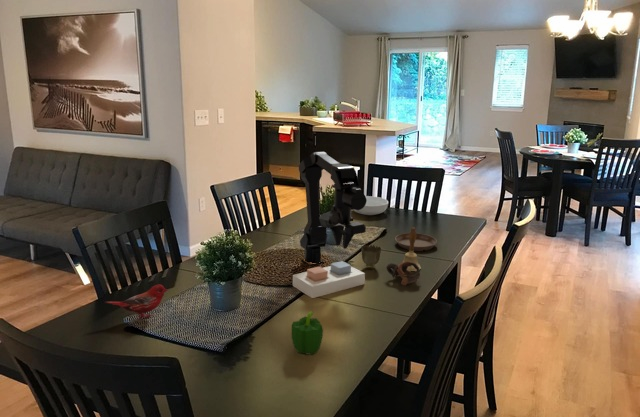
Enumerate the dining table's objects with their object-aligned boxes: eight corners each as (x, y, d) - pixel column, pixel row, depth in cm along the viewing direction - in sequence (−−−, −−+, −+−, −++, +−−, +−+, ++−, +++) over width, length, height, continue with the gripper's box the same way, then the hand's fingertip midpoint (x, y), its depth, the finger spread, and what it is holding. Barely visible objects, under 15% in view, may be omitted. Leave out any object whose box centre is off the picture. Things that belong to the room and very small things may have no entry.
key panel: (292, 285, 175) (292, 274, 174) (343, 273, 188) (343, 262, 187) (312, 298, 166) (312, 286, 165) (364, 284, 178) (364, 273, 177)
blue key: (330, 271, 179) (330, 263, 178) (342, 268, 182) (342, 261, 181) (339, 276, 175) (339, 268, 174) (350, 273, 178) (351, 265, 177)
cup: (379, 272, 189) (380, 251, 187) (359, 270, 191) (360, 250, 189) (380, 265, 196) (381, 245, 194) (361, 263, 198) (362, 243, 196)
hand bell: (423, 266, 196) (426, 226, 192) (417, 273, 189) (420, 232, 185) (402, 262, 200) (405, 223, 196) (396, 269, 192) (398, 228, 188)
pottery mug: (417, 277, 187) (424, 263, 181) (413, 296, 180) (419, 282, 174) (385, 266, 188) (391, 252, 182) (380, 285, 181) (386, 271, 175)
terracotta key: (306, 277, 174) (307, 269, 173) (319, 274, 176) (319, 266, 176) (315, 282, 170) (315, 274, 169) (327, 279, 172) (327, 271, 172)
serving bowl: (346, 217, 263) (346, 204, 261) (350, 207, 283) (351, 195, 281) (386, 219, 259) (387, 206, 258) (388, 209, 279) (389, 197, 278)
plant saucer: (425, 255, 208) (425, 248, 208) (387, 246, 219) (387, 239, 218) (443, 245, 222) (443, 238, 221) (406, 237, 232) (407, 230, 232)
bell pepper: (308, 362, 129) (308, 326, 126) (285, 350, 134) (285, 315, 132) (329, 349, 135) (330, 315, 133) (307, 338, 140) (307, 305, 138)
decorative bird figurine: (169, 316, 151) (167, 285, 149) (105, 323, 146) (102, 291, 144) (169, 312, 154) (167, 281, 151) (106, 319, 149) (103, 287, 146)
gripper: (307, 200, 175) (307, 243, 179) (340, 212, 160) (339, 259, 164) (333, 196, 181) (332, 238, 185) (367, 207, 167) (365, 253, 171)
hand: (341, 246), depth 176 cm, fingers open, 4 cm apart
